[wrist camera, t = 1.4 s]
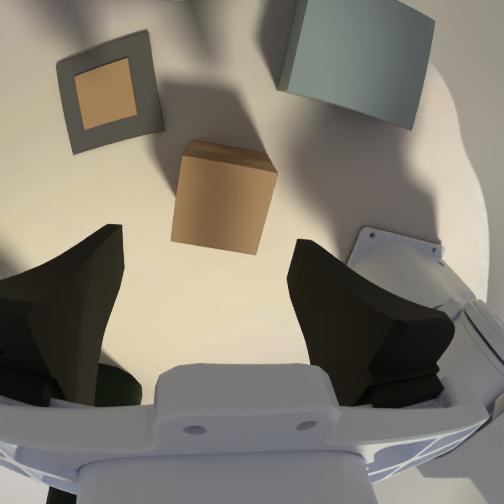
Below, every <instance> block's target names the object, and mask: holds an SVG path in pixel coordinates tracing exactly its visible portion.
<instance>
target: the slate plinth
mask: <svg viewBox="0 0 504 504" xmlns="http://www.w3.org/2000/svg"><path fill="white" fill-rule="evenodd" d="M434 26H435V21H434V20H433V19H431V18H429V17H427V16H426V15H424V14H422V13H421V12H418V11H417V10H415V9H413V8H411V7H409V6H407V5H405V4H403V3H401V2H399V1H397V0H298V3H297V7H296V11H295V16H294V20H293V24H292V28H291V33H290V37H289V41H288V46H287V50H286V54H285V59H284V63H283V68H282V72H281V76H280V81H279V85H278V90H277V91H282V92H286V93H290V94H294V95H298V96H302V97H306V98H310V99H314V100H318V101H321V102H325V103H328V104H332V105H335V106H338V107H342V108H345V109H348V110H351V111H354V112H357V113H360V114H363V115H366V116H369V117H372V118H375V119H378V120H381V121H383V122H386V123H389V124H393V125H396V126H399V127H402V128H405V129H408V130H411V131H412V127H413V124H414V120H415V116H416V113H417V109H418V105H419V101H420V97H421V92H422V88H423V84H424V79H425V75H426V70H427V65H428V60H429V55H430V50H431V44H432V38H433V32H434Z"/></svg>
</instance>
